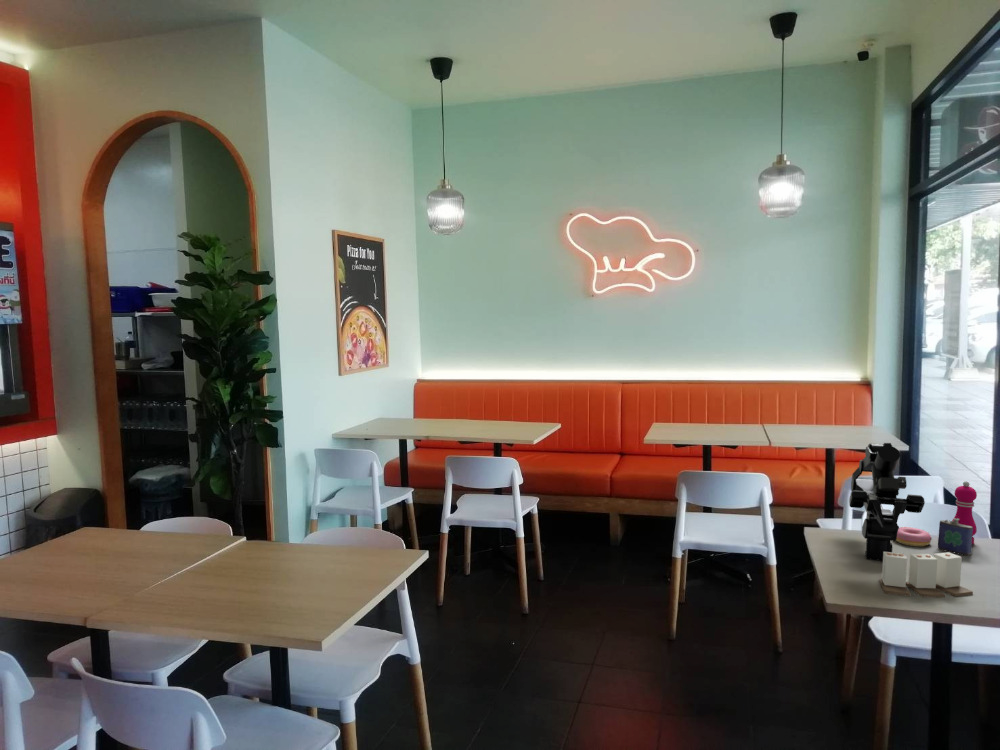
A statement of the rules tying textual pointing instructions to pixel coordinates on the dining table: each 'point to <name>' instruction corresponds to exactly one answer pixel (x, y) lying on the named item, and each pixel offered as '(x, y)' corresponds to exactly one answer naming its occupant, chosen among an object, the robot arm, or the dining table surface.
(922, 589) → the tile tracks
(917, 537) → the doughnut
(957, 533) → the flask
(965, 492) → the pepper mill
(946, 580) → the white pillar with knob
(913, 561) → the two-bump white pillar
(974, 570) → the dining table surface
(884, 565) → the three-dot tile
